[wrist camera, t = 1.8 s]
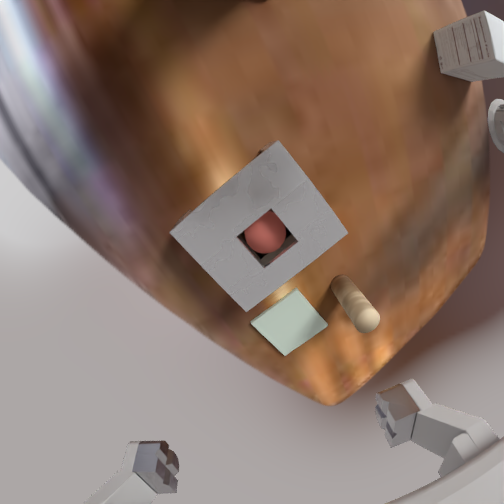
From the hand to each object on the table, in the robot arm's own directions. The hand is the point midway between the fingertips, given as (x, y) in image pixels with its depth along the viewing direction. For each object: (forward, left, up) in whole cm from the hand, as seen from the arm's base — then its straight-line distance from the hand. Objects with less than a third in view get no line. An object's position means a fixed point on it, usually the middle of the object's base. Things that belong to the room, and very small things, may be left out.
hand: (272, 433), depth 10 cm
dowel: (-5, +15, -30) cm, 33 cm away
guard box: (-2, 0, -29) cm, 30 cm away
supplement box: (-42, -1, -30) cm, 52 cm away
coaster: (+4, +15, -30) cm, 33 cm away
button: (-2, +1, -27) cm, 27 cm away
